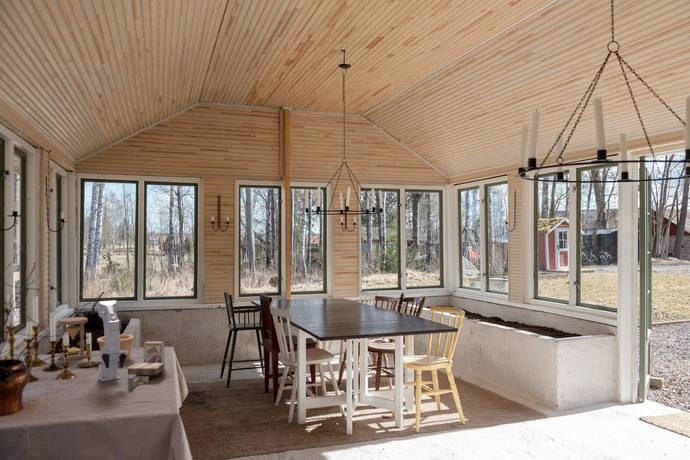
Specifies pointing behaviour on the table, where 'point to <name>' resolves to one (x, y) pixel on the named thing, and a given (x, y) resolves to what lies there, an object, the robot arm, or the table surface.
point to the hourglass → (73, 330)
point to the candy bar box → (154, 352)
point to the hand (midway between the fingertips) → (114, 368)
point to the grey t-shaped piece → (136, 380)
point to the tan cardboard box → (146, 369)
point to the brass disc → (140, 382)
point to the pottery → (124, 344)
